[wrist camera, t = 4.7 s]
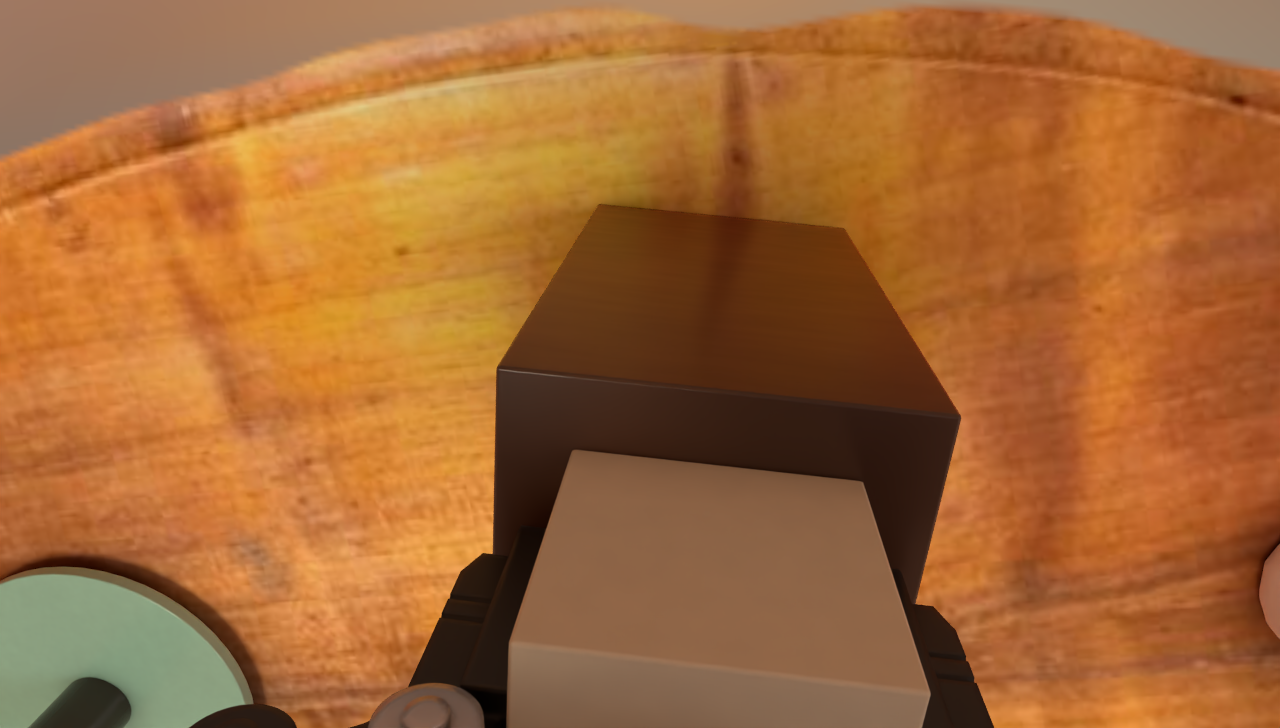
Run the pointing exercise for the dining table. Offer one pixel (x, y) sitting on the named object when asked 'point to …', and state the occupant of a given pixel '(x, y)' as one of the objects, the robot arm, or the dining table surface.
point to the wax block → (711, 604)
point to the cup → (1271, 591)
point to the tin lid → (107, 655)
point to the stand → (723, 369)
